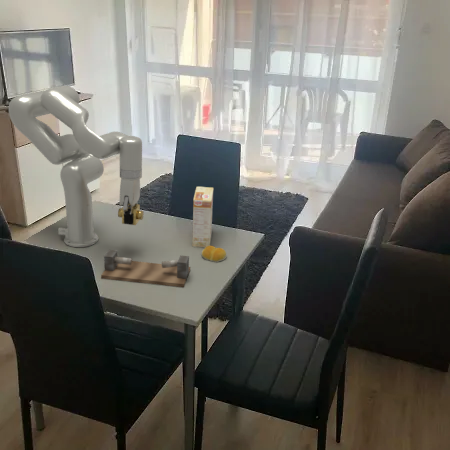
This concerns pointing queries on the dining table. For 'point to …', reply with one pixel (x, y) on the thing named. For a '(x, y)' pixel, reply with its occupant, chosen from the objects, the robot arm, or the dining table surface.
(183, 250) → the dining table surface
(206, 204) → the coffeecake box
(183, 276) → the base
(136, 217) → the brass coupler
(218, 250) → the bread roll
